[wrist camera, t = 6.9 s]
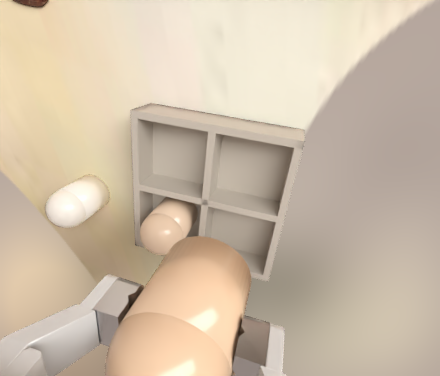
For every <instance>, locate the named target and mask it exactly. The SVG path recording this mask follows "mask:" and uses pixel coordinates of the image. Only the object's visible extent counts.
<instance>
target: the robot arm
mask: <svg viewBox="0 0 440 376" xmlns="http://www.w3.org/2000/svg"><path fill="white" fill-rule="evenodd" d="M143 289H144V285H141V284H138V283H135V282H132V281H129V280H126V279H123V278H120V277H117V276H113V275H110V274H108V275H106V276H105V277H104V278H103V279H102V280H101V281H100V282H99V283H98V284H97V285H96V287H95V288H94V289H93V290H92V291H91V292H90V293H89V295H88V296H87V297H86V298H85V299H84V300H83V301H82V302H81V303H80V305H77V304H75V305H73V306H71V307H68V308H66V309H64V310H62V311H60V312H57V313H55V314H53V315H51V316H49V317H46V318H44V319H42V320H40V321H38V322H36V323H33V324H31V325H29V326H27V327H25V328H23V329H20V330H18V331H16V332H14V333H11V334H9V335H7V336H5V337H4V338H3V339H2V340H1V341H0V376H55V375H57V374H58V373H60V372H61V371H63V370H64V369H65V368H67V367H68V366H70V365H71V364H73V363H74V362H76V361H77V360H79V359H80V358H81V357H83V356H84V355H86V354H87V353H89V352H90V351H92V350H93V349H95V348H96V347H97V346H99V345H100V344H103V345H106V346H109V345H110V342H111V340H112V338H113V335H114V333H115V331H116V330H117V328H118V326H119V325H120V323H121V322H122V320H123V319H124V317H125V316H126V314H127V313H128V311H129V310H130V308H131V307H132V305H133V304H134V302H135V301H136V299H137V298H138V296H139V295H140V293H141V292H142V290H143ZM284 332H285V330H284V327H282V326H278V325H275V324H272V323H269V322H266V321H263V320H259V319H256V318H252V317H249V316H245V315H244V316H243V320H242V324H241V329H240V333H239V338H238V342H237V347H236V351H235V356H234V360H233V365H232V373H231V376H287V374H285V373H282V367H283V349H284Z"/></svg>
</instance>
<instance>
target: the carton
mask: <svg viewBox="0 0 440 376" xmlns="http://www.w3.org/2000/svg"><path fill="white" fill-rule="evenodd" d="M130 111H131V138H132V166H133V194H134V221H135V245H136V246H140V247H144V245H143V244H142V242H141V238H140V229H141V225H142V223H143V221H144V220H145V219H146V218H147V216H148V215H149V214H150V213H151V212H152V211H153V210H154V209H155V208H156V207H157V206H158V205H159V204H160V203H161V202H162V200H163V199H164V198H165V197H170V198H174V199H178V200H183V201H187V202H191V203H194V204H195V205H196V207H197V210H198V217H197V220H196V222H195V223H194V225H193V227H192V228H191V230H190V231H189V233H188V235H187V236H186V238H188V237H193V236H203V237H209V238H213V239H217V240H219V241H221V242H224V243H225V244H227V245H229V246H230V247H232V248H233V249H234V250H236V251H237V252H238V253H239V254H240V255H241V256H242V257H243V259H244V260H245V262H246V263H247V265H248V267H249V270H250V273H251V277H253V278H257V279H260V280H264V281H268V280H269V277H270V273H271V269H272V265H273V261H274V257H275V254H276V249H277V246H278V242H279V238H280V235H281V230H282V227H283V223H284V219H285V216H286V212H287V208H288V204H289V200H290V196H291V193H292V189H293V185H294V181H295V177H296V174H297V170H298V166H299V162H300V158H301V154H302V150H303V147H304V142H305V132H304V130H303V129H297V128H291V127H285V126H280V125H274V124H268V123H262V122H257V121H251V120H245V119H239V118H234V117H228V116H222V115H216V114H211V113H205V112H199V111H193V110H188V109H182V108H176V107H170V106H165V105H159V104H153V103H150V104H147V105H144V106H141V107H138V108H135V109H132V110H130ZM144 248H145V247H144Z"/></svg>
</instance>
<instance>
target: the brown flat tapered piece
mask: <svg viewBox="0 0 440 376" xmlns="http://www.w3.org/2000/svg"><path fill="white" fill-rule="evenodd" d="M13 1H15V2H18V3H21V4H24V5H29V6H43V5H44V4H45V3H46V2H47V1H48V0H13Z"/></svg>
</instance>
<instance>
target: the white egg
mask: <svg viewBox="0 0 440 376" xmlns="http://www.w3.org/2000/svg"><path fill="white" fill-rule="evenodd" d="M109 199H110V193H109V190H108V187H107V186H106V184H105V183H104V182H103V181H102V180H101V179H100V178H98V177H96V176H94V175H84V176H83V177H81V178H79V179H77V180H75V181H74V182H72V183H70V184H68V185H67V186H65V187H63V188H61V189H60V190H58V191H56V192H54V193H53V194H52V195H51V196H50V197H49V198H48V200H47V202H46V206H45V211H46V215H47V217H48V219H49V220H50V221H51V222H52V223H53V224H55V225H57V226H59V227H63V228H71V227H75V226H78V225H80V224H81V223H83V222H84V221H85V220H87V219H88V218H89V217H90V216H92V215H93V214H94V213H96V212H97V211H98V210H99V209H101V208H102V207H103V206H105V205H106V204H107V203H108V201H109Z"/></svg>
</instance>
